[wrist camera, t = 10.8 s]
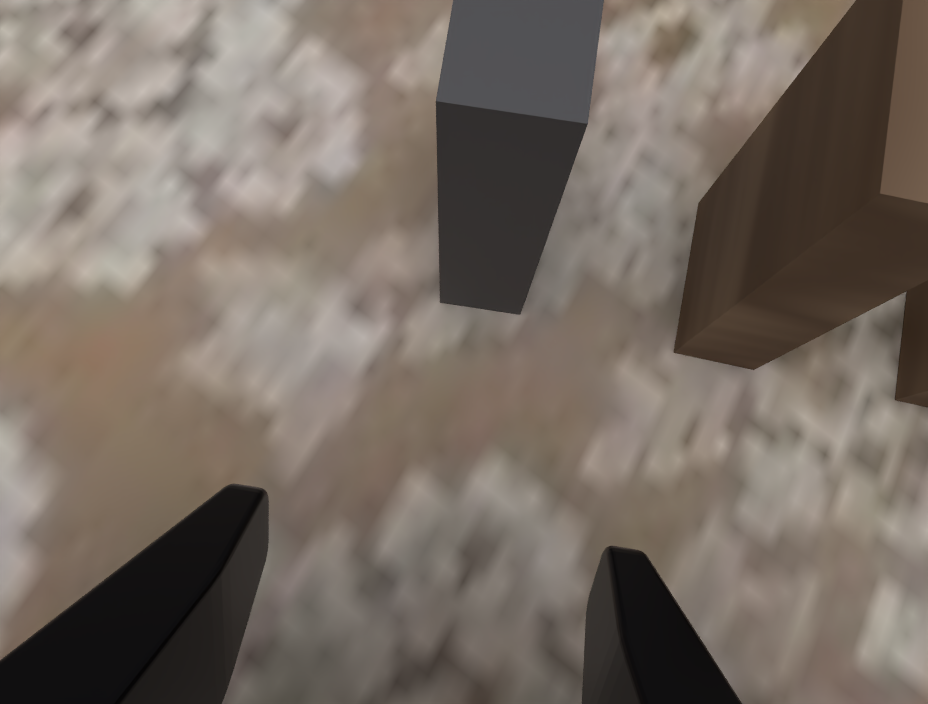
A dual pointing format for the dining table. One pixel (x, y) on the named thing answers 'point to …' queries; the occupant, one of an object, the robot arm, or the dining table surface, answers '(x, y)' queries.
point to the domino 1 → (818, 198)
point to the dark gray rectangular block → (508, 139)
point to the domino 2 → (914, 349)
